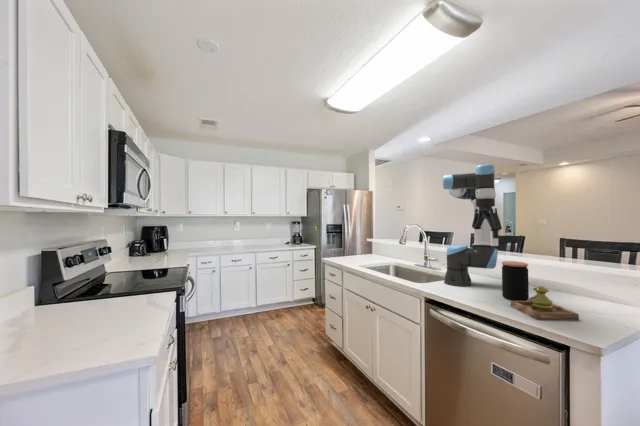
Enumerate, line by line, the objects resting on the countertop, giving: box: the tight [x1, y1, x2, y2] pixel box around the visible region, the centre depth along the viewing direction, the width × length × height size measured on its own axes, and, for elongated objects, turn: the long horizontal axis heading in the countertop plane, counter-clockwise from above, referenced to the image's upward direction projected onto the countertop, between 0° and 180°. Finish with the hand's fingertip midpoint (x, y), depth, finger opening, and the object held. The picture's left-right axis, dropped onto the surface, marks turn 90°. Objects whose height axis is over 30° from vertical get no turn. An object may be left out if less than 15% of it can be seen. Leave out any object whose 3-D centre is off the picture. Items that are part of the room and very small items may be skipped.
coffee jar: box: [501, 260, 530, 302], centre depth 133 cm, size 11×11×18 cm
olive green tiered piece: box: [529, 286, 554, 312], centre depth 114 cm, size 7×7×10 cm
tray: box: [510, 300, 580, 321], centre depth 114 cm, size 16×16×2 cm
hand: (485, 244), depth 122 cm, fingers open, 13 cm apart
